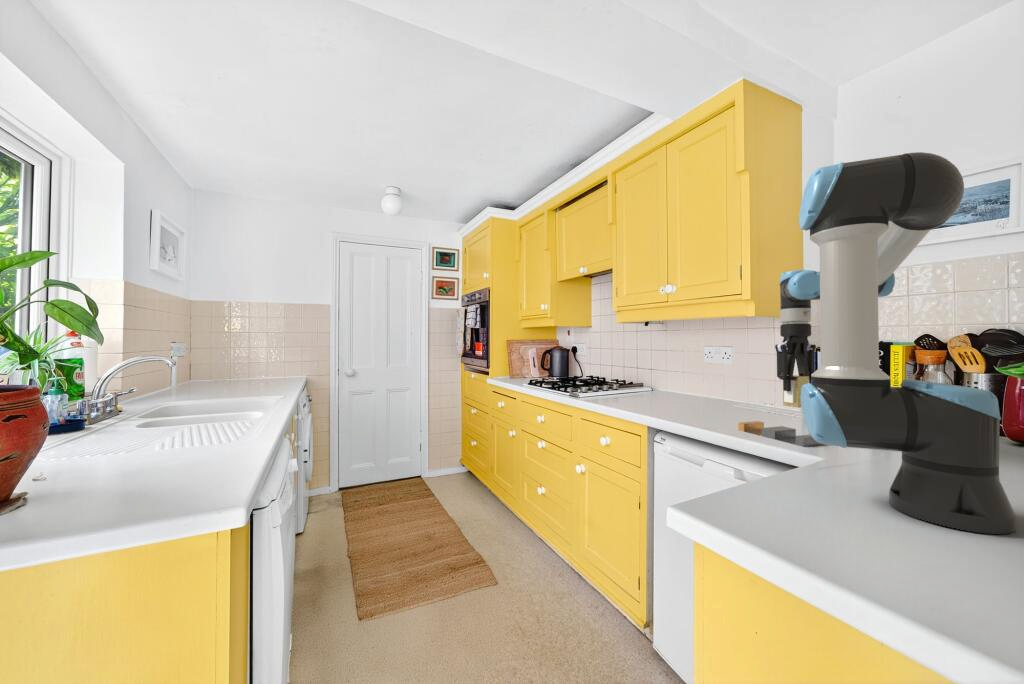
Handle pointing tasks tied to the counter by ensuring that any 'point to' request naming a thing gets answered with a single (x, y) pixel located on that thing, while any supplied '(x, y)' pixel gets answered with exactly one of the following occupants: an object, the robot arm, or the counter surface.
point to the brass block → (797, 390)
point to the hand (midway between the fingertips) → (795, 401)
